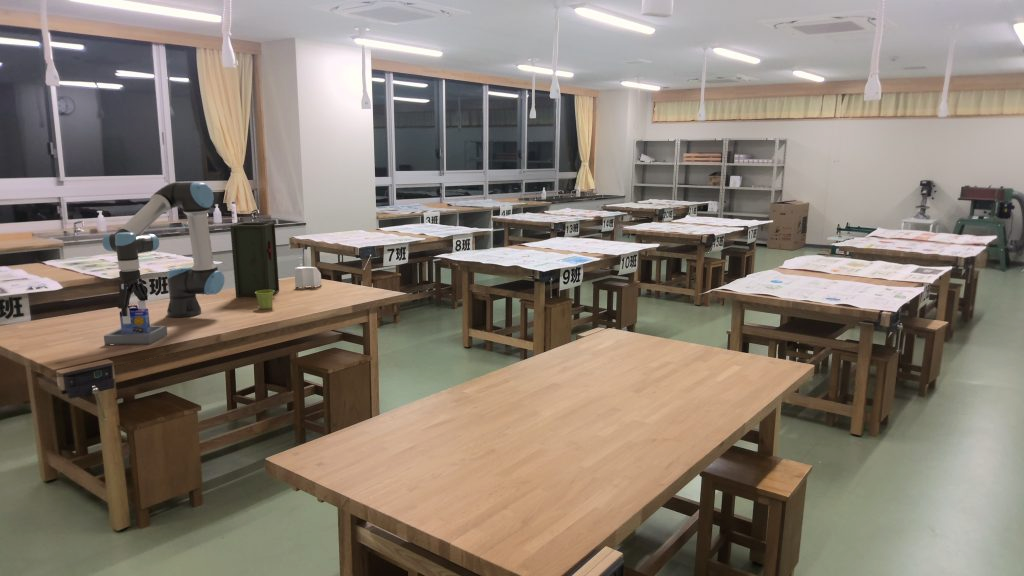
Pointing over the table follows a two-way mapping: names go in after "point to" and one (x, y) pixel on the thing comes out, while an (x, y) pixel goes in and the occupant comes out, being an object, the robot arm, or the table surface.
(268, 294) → the plant pot
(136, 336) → the tray
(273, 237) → the first aid box
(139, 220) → the robot arm
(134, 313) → the ink cartridge box
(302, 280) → the white rounded block
